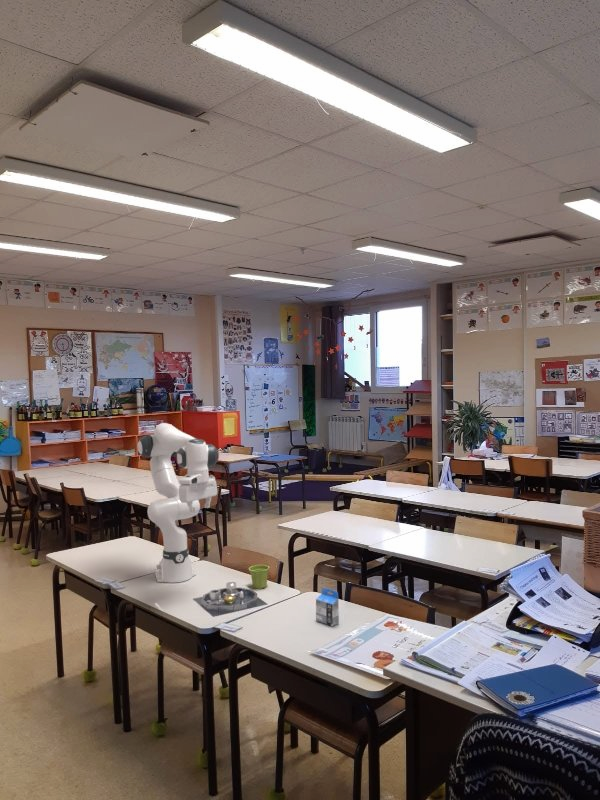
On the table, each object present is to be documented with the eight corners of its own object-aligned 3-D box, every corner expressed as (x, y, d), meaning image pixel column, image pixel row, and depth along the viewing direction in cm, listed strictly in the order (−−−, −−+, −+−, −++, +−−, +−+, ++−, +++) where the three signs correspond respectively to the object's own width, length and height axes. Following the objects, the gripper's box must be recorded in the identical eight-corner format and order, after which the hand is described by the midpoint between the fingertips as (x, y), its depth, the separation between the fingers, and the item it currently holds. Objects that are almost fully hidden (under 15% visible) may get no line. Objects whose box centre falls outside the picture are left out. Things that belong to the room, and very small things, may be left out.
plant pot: (248, 590, 267) (247, 571, 267) (250, 583, 276) (249, 565, 276) (269, 589, 267) (268, 570, 267) (270, 583, 276) (269, 564, 276)
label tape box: (315, 621, 230) (314, 589, 230) (322, 617, 233) (321, 586, 233) (332, 627, 224) (331, 594, 223) (339, 623, 227) (338, 591, 226)
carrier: (192, 601, 255) (192, 586, 255) (244, 590, 267) (243, 575, 267) (213, 619, 234) (212, 602, 234) (268, 607, 246) (267, 590, 246)
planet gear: (204, 603, 249) (204, 590, 249) (220, 600, 252) (219, 587, 252) (210, 608, 243) (210, 595, 243) (226, 605, 246) (226, 592, 246)
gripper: (209, 474, 266) (210, 505, 266) (175, 480, 249) (177, 513, 249) (220, 474, 262) (221, 505, 262) (187, 481, 245) (188, 514, 245)
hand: (199, 509), depth 255 cm, fingers open, 8 cm apart
